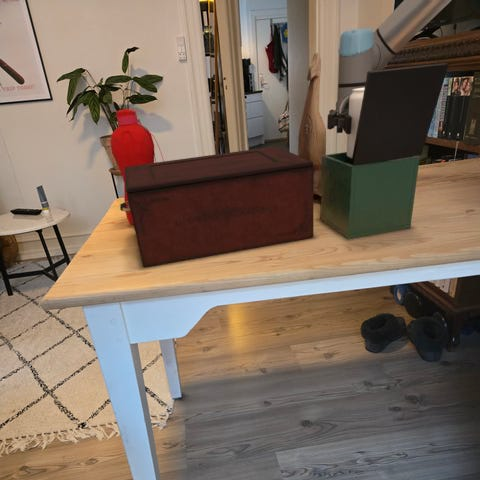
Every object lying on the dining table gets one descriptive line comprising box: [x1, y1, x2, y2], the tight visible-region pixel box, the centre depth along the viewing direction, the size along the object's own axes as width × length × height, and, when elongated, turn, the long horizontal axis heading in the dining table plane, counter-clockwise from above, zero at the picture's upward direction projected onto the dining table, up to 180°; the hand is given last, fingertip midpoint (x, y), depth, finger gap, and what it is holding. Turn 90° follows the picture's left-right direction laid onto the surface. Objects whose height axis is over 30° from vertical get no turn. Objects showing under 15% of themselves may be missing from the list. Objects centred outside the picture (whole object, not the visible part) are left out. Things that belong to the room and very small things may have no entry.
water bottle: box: [109, 108, 165, 226], centre depth 96 cm, size 9×11×25 cm
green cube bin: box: [320, 151, 421, 240], centre depth 84 cm, size 14×14×14 cm
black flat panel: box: [351, 62, 450, 165], centre depth 69 cm, size 15×14×1 cm
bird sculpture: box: [297, 52, 327, 197], centre depth 100 cm, size 11×12×32 cm
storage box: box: [119, 146, 315, 268], centre depth 85 cm, size 39×23×15 cm, turn 104°
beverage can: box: [346, 88, 365, 159], centre depth 77 cm, size 8×8×12 cm
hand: (374, 124), depth 73 cm, fingers closed on beverage can, 8 cm apart
